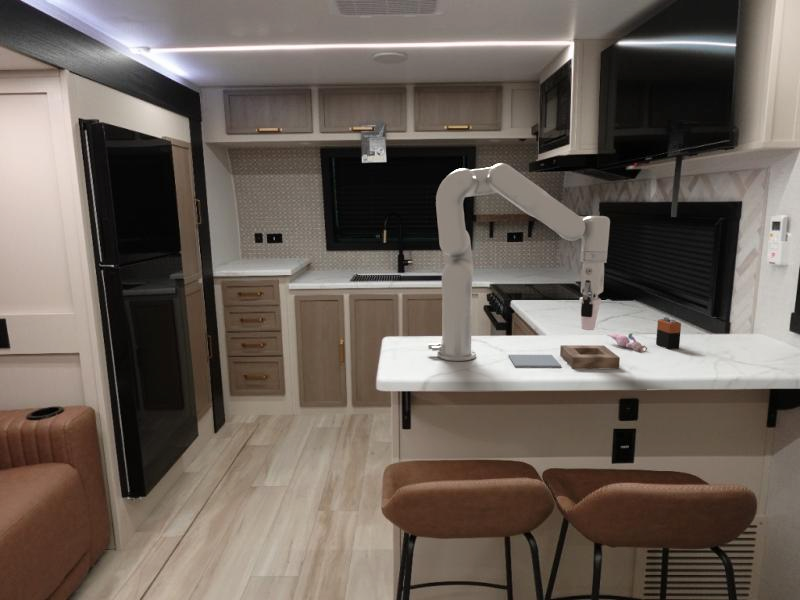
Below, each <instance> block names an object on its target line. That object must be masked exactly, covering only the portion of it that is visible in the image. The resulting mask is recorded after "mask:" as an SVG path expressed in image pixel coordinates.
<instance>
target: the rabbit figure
mask: <svg viewBox="0 0 800 600" xmlns="http://www.w3.org/2000/svg"><path fill="white" fill-rule="evenodd" d="M633 335H634V333H632V332H629V334H628V335H627V336H626V335H625V334H624V335H623V334H622V335H621V334H618V333H612V334H607V335H606V337H611V339H613V340H614V341H615V342H616V343H617V345H619V346H620V347H621V348H627V347H628V348H629V349H632V350H633V351H634V352H640V353H642V352H643V351H644V348H645V351H644V352H647V351H648V346H647V347H646V345H643V344H641V342H639V341H637V339H636V338H635V337H634V336H633ZM630 340H631V341H633V342H630Z"/></svg>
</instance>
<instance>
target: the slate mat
mask: <svg viewBox="0 0 800 600" xmlns="http://www.w3.org/2000/svg"><path fill="white" fill-rule="evenodd" d="M508 358H509V360H510V362H511V363H512V365H513V366H515V367H514V368H562V365H561V363H559V361H558V360H557V359H556V358H555V357H554V356H553V354H508Z"/></svg>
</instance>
